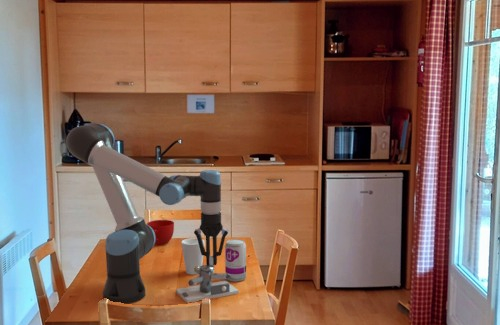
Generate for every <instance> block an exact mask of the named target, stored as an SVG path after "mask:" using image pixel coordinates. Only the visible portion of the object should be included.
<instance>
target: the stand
mask: <svg viewBox="0 0 500 325" xmlns="http://www.w3.org/2000/svg"><path fill="white" fill-rule="evenodd" d="M211 284H212V286H211V292H207V293H203V292H200V286H199V284H197V285H192V286H187V287H181V288H175V294H177V295H178V296H179V297H180V298H181V299H183V300H182V301H184V302H185V301H186V302H187V303H186V302H185V303H186V304H189V303H188V302H192V303H195V302H194V301H198V302H200V301H199V300H202V299H205V298H211V299H210V300H213V299H217V297H218V298H222V297H228V296H232V295H238V294H239V293H240V291H239V289H237V288H236V287H235V286H233V284H231V283H229V282H228V280H226V279H223V280H221V281H219V280H218V281H214V282H211ZM212 298H213V299H212Z"/></svg>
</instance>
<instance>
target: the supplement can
mask: <svg viewBox="0 0 500 325" xmlns="http://www.w3.org/2000/svg"><path fill="white" fill-rule="evenodd" d="M224 259H225V260H224V262H225V263H224V265H225V266H224V268H225V272H224V273H228V274H230V278H229V279H226V281H229V282H242V281H244V280H245V279H246V278H247V244H246V243H245V240H243V239H235V238H233V239H229V240H227V241H226V243H225V245H224Z"/></svg>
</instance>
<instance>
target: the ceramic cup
mask: <svg viewBox="0 0 500 325" xmlns="http://www.w3.org/2000/svg"><path fill="white" fill-rule="evenodd" d="M146 224H147V225H148V226H150V227H151V228H152V229H153V231H154V233H155V244H154V246H155V245H157V246H165V245H167V244H169V243H170V241H171V239H172V237H174V236H173V235H174V232H175V222H174V221H172V220H169V219H156V220H150V221H148V222H147V223H146Z"/></svg>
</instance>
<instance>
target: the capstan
mask: <svg viewBox="0 0 500 325" xmlns="http://www.w3.org/2000/svg"><path fill="white" fill-rule="evenodd" d="M212 270H214V271H215V265H214V266H213V265H207V264H202V266H200V267H198V266H196V267H195V268H194V271H195V272H196V273H197V274H196V275H198V276H195V277H193V278H191V279H189V280H188V281H187V284H188V286H189V287H191V286H196V284H197V285H199V286H200V292H203V293H207V292H211V286H212V284H211V283H212V280H227V279H229V278H230V274H228V273H225V272H224V273H223V272H221V273H217V272H216V273H215V272H214V273H211V271H212Z"/></svg>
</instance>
